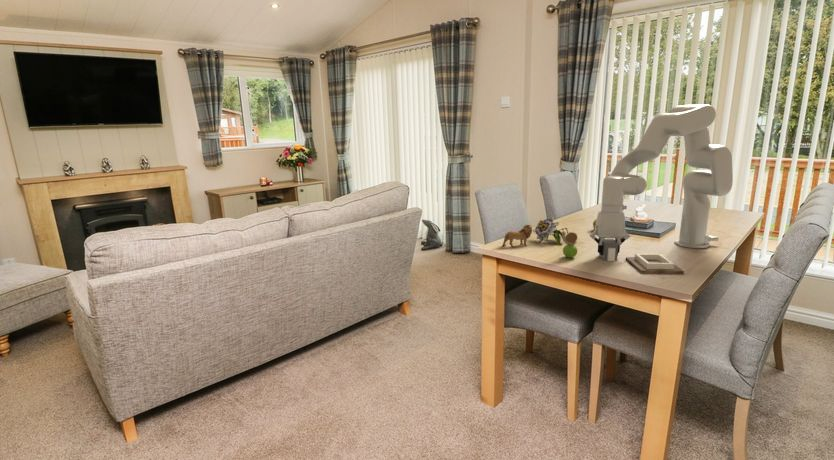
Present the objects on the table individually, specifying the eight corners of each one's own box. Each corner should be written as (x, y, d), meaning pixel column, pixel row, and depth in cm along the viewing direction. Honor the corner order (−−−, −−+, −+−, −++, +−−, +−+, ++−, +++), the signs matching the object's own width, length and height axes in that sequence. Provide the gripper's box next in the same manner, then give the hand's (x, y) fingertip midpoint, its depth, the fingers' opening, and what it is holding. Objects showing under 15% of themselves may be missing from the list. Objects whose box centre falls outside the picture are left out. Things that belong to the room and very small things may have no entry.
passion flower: (540, 255, 199) (525, 229, 201) (558, 245, 204) (543, 220, 207) (557, 245, 188) (541, 218, 190) (576, 235, 193) (560, 209, 196)
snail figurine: (557, 256, 176) (559, 227, 174) (573, 255, 177) (575, 226, 174) (563, 260, 171) (565, 230, 168) (579, 259, 172) (581, 229, 169)
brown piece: (664, 259, 168) (664, 252, 167) (683, 273, 153) (684, 265, 152) (625, 259, 170) (626, 252, 169) (641, 273, 154) (642, 265, 154)
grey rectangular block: (612, 255, 175) (613, 238, 173) (618, 261, 168) (619, 243, 166) (599, 255, 175) (600, 238, 174) (604, 261, 169) (605, 243, 167)
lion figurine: (527, 242, 197) (528, 222, 195) (534, 245, 192) (535, 225, 190) (498, 246, 193) (499, 226, 190) (505, 249, 188) (505, 228, 186)
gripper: (631, 206, 170) (627, 251, 175) (586, 207, 172) (583, 251, 177) (639, 210, 163) (634, 257, 167) (591, 210, 165) (588, 257, 169)
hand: (608, 253), depth 172 cm, fingers closed on grey rectangular block, 5 cm apart
